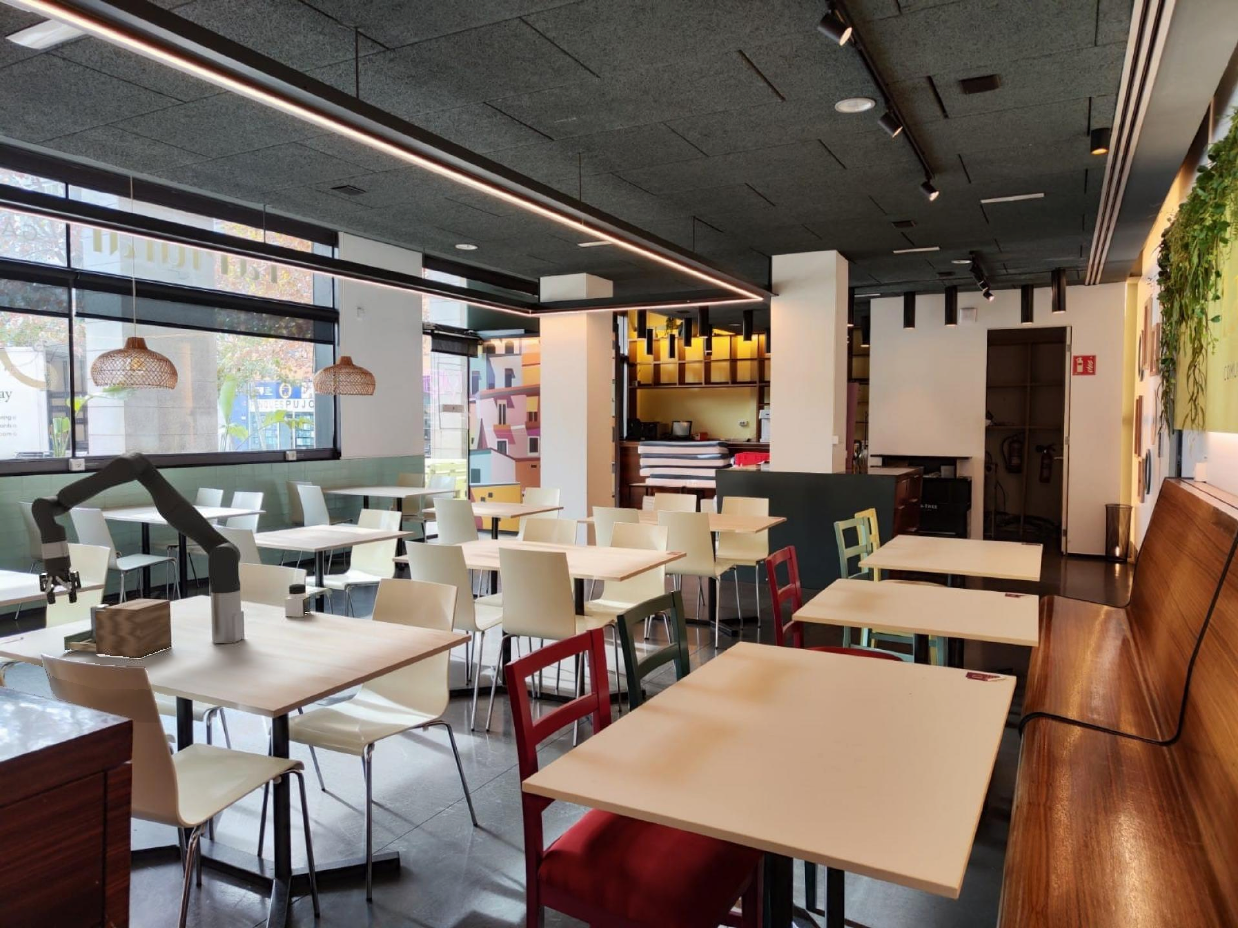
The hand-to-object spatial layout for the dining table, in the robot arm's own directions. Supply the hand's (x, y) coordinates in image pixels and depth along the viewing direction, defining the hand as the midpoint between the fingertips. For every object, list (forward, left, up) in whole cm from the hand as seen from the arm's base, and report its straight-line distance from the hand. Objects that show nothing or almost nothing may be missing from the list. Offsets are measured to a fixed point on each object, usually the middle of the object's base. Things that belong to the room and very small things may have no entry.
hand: (62, 603), depth 282 cm
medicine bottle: (-60, -46, -15) cm, 77 cm away
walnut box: (-29, +7, -14) cm, 33 cm away
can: (-16, +4, -12) cm, 20 cm away
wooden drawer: (-15, +4, -14) cm, 21 cm away
